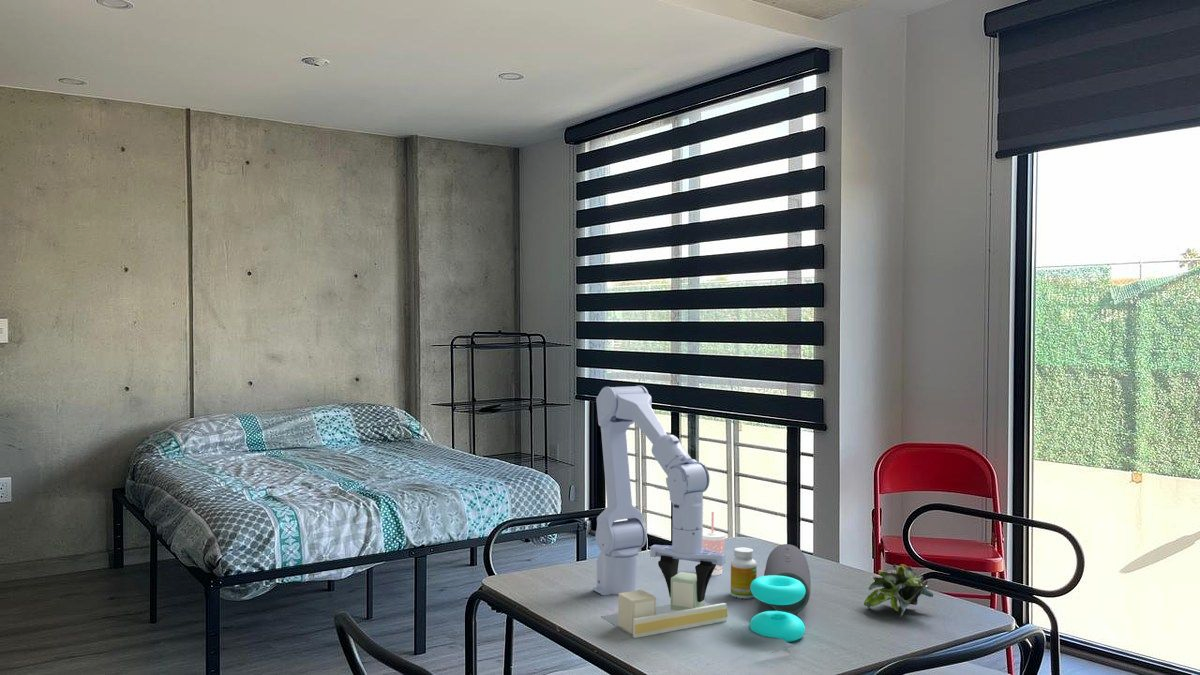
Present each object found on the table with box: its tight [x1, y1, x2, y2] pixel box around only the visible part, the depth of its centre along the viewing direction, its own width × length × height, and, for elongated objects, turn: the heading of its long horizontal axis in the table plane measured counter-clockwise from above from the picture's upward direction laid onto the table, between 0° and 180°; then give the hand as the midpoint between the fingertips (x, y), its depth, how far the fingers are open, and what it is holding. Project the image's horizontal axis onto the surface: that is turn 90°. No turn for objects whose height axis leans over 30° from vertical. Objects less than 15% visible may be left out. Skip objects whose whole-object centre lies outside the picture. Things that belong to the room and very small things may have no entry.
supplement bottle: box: [730, 546, 758, 600], centre depth 185 cm, size 5×5×10 cm
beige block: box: [617, 589, 657, 634], centre depth 162 cm, size 5×5×6 cm
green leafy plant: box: [863, 563, 934, 619], centre depth 175 cm, size 11×11×12 cm
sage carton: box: [669, 571, 706, 611], centre depth 167 cm, size 5×5×6 cm
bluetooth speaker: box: [763, 543, 812, 615], centre depth 181 cm, size 23×9×10 cm, turn 168°
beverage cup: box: [702, 511, 727, 576], centre depth 202 cm, size 6×6×14 cm
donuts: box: [749, 575, 806, 643], centre depth 162 cm, size 10×10×10 cm
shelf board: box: [600, 602, 728, 639], centre depth 167 cm, size 13×20×4 cm, turn 118°
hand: (686, 598), depth 167 cm, fingers closed on sage carton, 5 cm apart
